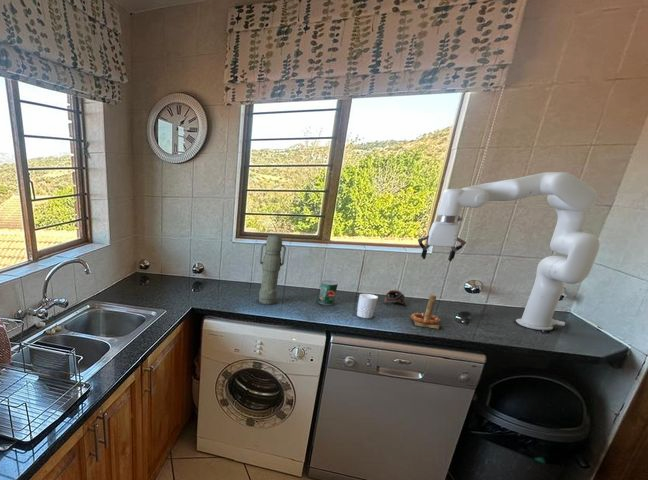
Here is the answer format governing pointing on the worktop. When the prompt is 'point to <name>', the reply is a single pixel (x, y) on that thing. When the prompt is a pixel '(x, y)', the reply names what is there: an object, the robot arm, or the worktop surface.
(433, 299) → the stand
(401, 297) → the brown domed piece
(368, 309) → the white cup
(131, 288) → the worktop surface
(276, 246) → the grey stone vase
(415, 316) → the ring
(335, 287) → the canned tomato
